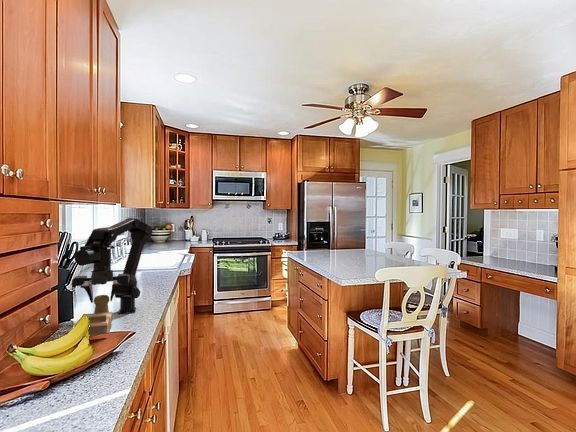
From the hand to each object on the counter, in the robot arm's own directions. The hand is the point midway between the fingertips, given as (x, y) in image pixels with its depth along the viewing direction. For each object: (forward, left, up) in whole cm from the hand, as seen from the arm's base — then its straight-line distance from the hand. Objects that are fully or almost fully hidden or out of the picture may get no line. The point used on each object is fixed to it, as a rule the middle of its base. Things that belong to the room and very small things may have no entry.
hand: (101, 301), depth 122 cm
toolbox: (+11, 0, -8) cm, 14 cm away
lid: (+10, 0, -4) cm, 11 cm away
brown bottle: (0, 0, -9) cm, 9 cm away
